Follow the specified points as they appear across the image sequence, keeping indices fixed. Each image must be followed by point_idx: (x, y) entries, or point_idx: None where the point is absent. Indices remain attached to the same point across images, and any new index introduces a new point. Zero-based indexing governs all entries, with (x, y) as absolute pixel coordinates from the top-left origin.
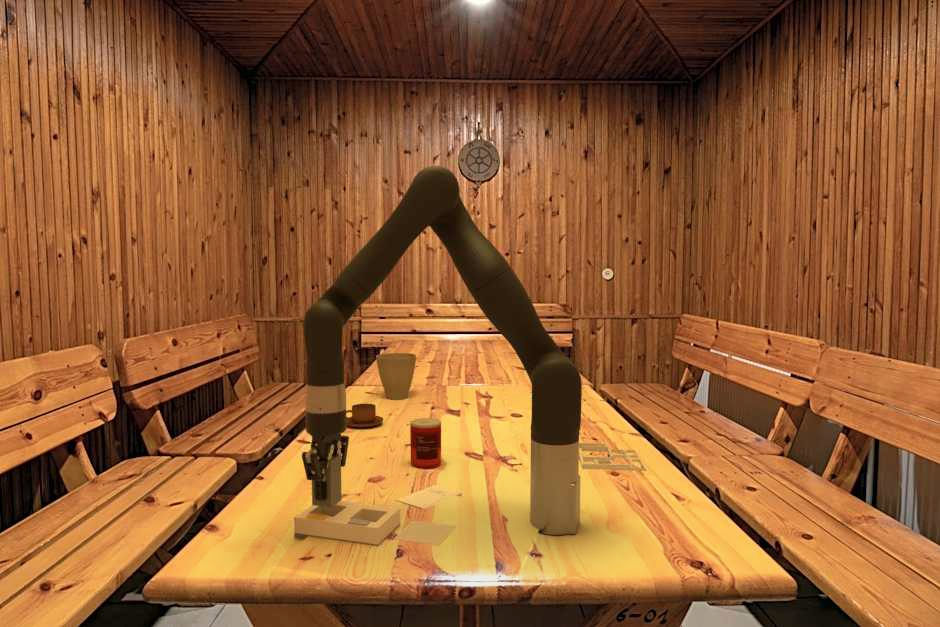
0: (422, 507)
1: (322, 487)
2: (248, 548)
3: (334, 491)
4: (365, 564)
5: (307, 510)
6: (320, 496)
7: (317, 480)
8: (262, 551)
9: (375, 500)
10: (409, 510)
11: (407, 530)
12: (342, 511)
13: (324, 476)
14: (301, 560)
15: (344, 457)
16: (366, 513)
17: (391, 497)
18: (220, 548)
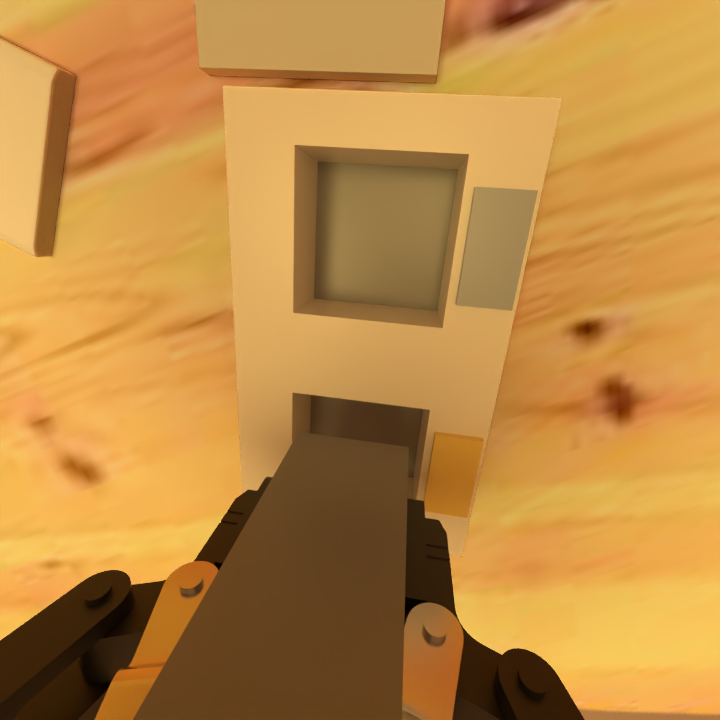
0: (45, 75)
1: (434, 576)
2: (549, 589)
3: (359, 490)
4: (686, 128)
5: None
6: (444, 537)
7: (551, 677)
8: (569, 548)
9: (59, 346)
10: (78, 162)
11: (321, 38)
12: (356, 392)
13: (447, 654)
14: (641, 410)
15: (37, 650)
16: (301, 284)
17: (4, 296)
18: (555, 650)
